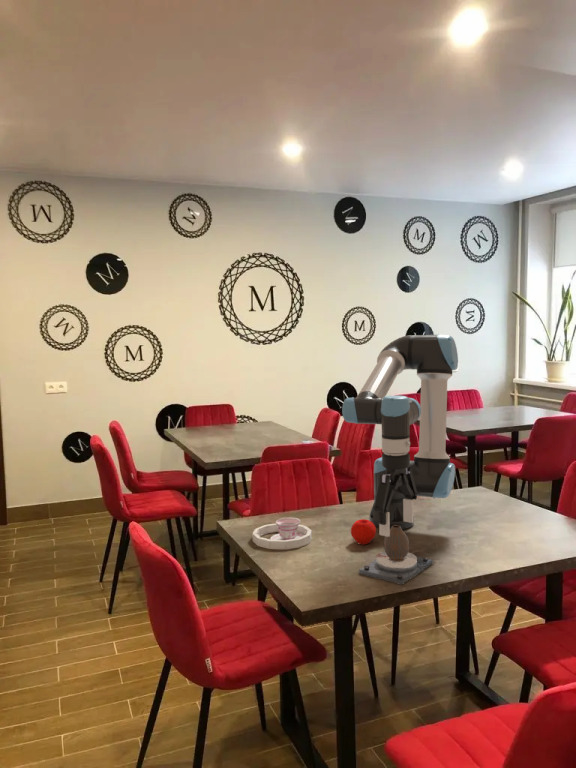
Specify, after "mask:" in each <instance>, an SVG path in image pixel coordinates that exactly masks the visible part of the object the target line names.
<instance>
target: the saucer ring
mask: <svg viewBox="0 0 576 768" xmlns="http://www.w3.org/2000/svg"><path fill="white" fill-rule="evenodd" d="M312 532H313V531H312V529H310V528H309V527H308V526H306V525H303V524H299V525H298V528H297V530H296V533H300V534H303V535H304V536H302V537H300V538H297V539H295V538H294V539H290V540H283V539H281V540H270V538H266V537H262V536H264V535H267V534H272V533H279V531H278V526H277V525H276V523H270V524H269V523H268V524H264V525H262V526H259V527H257V528H254V530H253V532H252V535H251V536H252V542H253V543H254V544H255V545H256V546H257V547H260V548H264V549H268V550H291V549H298V548H303V547H304V546H306V545H309V544H311V541H312V538H313V534H312Z"/></svg>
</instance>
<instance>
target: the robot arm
mask: <svg viewBox="0 0 576 768" xmlns="http://www.w3.org/2000/svg"><path fill="white" fill-rule="evenodd" d="M458 354H459V353H458V350H457V343H456V342H455V339H454V337H452V336H451V335H448V334H439V333H438V334H420V335H419V334H417V335H411V334H410V335H405V336H401V337H399V338H396V339H394V340H393V341H391V342H390V343H388V344H387V345H386V346H385V347H384V348H383V349H382V350H381V351H380V352H379V354H378V356H377V357H376V365H375V366H374V367H373V370H372V371H371V373H370V374H369V376H368V378H367V380H366V381H365V383H364V384H363V386H362V388H361V390H359V393H358V394H357V396H356V397H353V396H352V397H346V398H345V399H344V401H343V403H342V407H341V408H342V409H341V410H342V411H341V413H342V418H343V420H344V421H345V422H346V423H348V424H349V423H351V424H356V425H358V424H360V425H362V424H364V425H381V452H382V454H381V457H379V458H377V459H376V460H375V461H374V463H373V472H372V473H373V497H374V498H373V503H372V507H371V510H370V512H369V513H370V514H369V519H368V520H369V521H371V522H372V523H373V524H374V525H375V527H376V529H377V528H378V529H379V530H378V531H379V536H382V537H385V536H387V537H389V536H390V529H391V527H392V526H393V525H398V526H400V527H401V529H402V530H405V529H409V528H411V527H413V526H414V524H415V523H414V522H415V518H414V500H417V499H418V497H423V498H424V497H425V498H433V499H446V498H448V497H449V496H450V495H451V492H452V490H453V486H454V483H455V477H456V465H455V464H454V463H452V462H451V457H450V456H449V455H448V453H447V451H446V445H447V444H446V441H447V440H446V439H447V411H448V410H447V409H448V408H447V406H448V405H447V403H448V402H447V401H448V381H449V379H450V378H451V377H452V376H453V371H456V370H458V368H459V367H458V365H459V356H458ZM404 370H405V371H406V370H415V371H416V376H417V377H418V378H419V379H420V403H419V401H418V400H416V399H415V398H412V397H408V396H406V395H387V394H388V392H389V391H390V389H391V387H392V385H393V384H394V381H395V380H396V378H397V376H398V375H400V374H401V373H403V372H404ZM418 420H419V438H418V439H419V440H418V441H419V442H418V451H417V453H416V454H414V456H413V460H411V454H410V453H409V452H410V449H411V447H410V446H411V441H410V434H411V433H410V426H411V425H413V424H415V423H416V422H417V421H418Z"/></svg>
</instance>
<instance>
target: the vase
mask: <svg viewBox="0 0 576 768" xmlns="http://www.w3.org/2000/svg"><path fill="white" fill-rule="evenodd" d="M403 530H404V529H401V527H400V526H398V525H393V526H392V527H391V529H390V536H389V537H387V536H384V539H383V550H384V552H385V553H386V555H387V556H388V557H389V558H390V559H393V560H401V559H403V558H405V557H406V555H407V554H408V553H409V551H410V542H409V537H408V535H407V534H406V533H405V532H404V531H403Z"/></svg>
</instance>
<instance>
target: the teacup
mask: <svg viewBox="0 0 576 768" xmlns="http://www.w3.org/2000/svg"><path fill="white" fill-rule="evenodd" d="M274 524H276V525H277V526H278V531H279V532H278V533H277V534H273V535H272V536H270V538H269V539H270V540H290V539H297V538H300V537H302V536H304V535H303V534H300V533H296V530H297V528H298V525H301V519H300V518H297V517H289V516H288V517H283V518H278V519H277V520H275V523H274Z"/></svg>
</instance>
